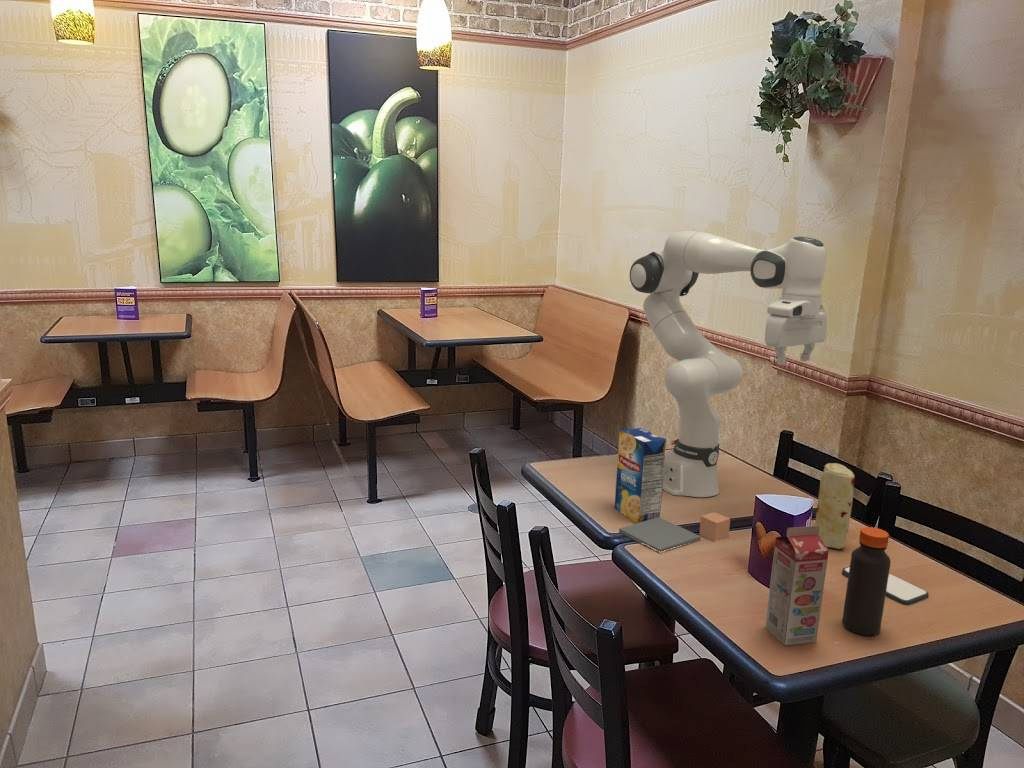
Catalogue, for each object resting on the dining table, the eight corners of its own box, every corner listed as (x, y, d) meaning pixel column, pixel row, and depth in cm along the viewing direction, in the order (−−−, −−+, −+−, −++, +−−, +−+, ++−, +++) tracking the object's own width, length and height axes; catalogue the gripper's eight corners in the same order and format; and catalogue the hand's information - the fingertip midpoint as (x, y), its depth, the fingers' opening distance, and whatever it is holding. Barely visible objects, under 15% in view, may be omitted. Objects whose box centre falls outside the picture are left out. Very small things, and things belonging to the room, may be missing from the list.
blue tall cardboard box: (638, 524, 192) (644, 442, 187) (614, 508, 201) (619, 430, 196) (659, 520, 195) (666, 439, 190) (635, 505, 204) (640, 427, 199)
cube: (699, 534, 186) (700, 516, 185) (712, 530, 189) (714, 512, 188) (715, 542, 182) (716, 523, 181) (728, 537, 185) (730, 518, 184)
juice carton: (765, 626, 145) (777, 521, 140) (795, 623, 147) (808, 518, 142) (784, 645, 139) (798, 535, 134) (816, 641, 140) (831, 533, 135)
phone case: (930, 599, 159) (863, 567, 172) (931, 593, 158) (864, 560, 172) (905, 609, 155) (838, 575, 168) (906, 602, 154) (839, 568, 168)
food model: (853, 550, 180) (864, 472, 175) (829, 553, 178) (840, 473, 174) (827, 534, 189) (837, 458, 184) (804, 536, 187) (813, 460, 183)
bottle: (887, 636, 143) (902, 539, 138) (853, 637, 142) (867, 539, 138) (867, 617, 149) (881, 524, 145) (835, 618, 149) (848, 524, 144)
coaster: (618, 532, 186) (619, 528, 186) (658, 520, 194) (658, 516, 194) (659, 553, 175) (660, 549, 175) (700, 540, 183) (700, 536, 183)
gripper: (813, 302, 188) (806, 356, 191) (763, 306, 176) (756, 364, 179) (836, 305, 183) (829, 361, 186) (786, 310, 171) (779, 369, 174)
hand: (793, 362), depth 182 cm, fingers open, 8 cm apart
